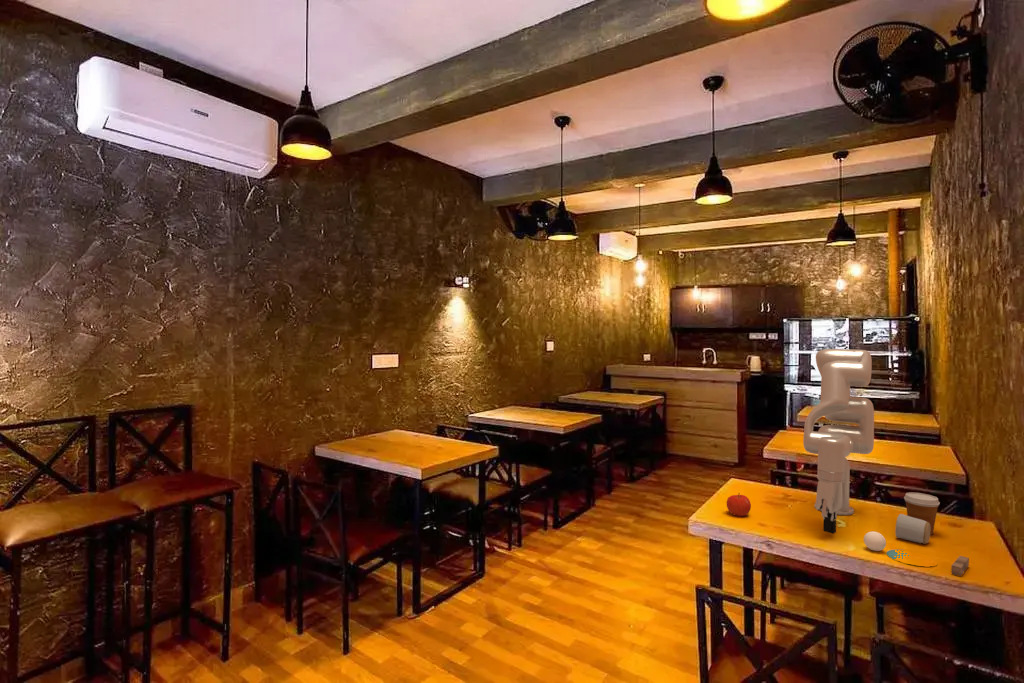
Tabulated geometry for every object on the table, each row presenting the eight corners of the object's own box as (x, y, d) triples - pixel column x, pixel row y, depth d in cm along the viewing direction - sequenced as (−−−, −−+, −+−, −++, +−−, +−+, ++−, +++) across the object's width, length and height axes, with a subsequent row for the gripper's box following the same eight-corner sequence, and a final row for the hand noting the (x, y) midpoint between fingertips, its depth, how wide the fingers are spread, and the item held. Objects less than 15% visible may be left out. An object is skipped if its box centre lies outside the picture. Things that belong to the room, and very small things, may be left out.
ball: (877, 552, 166) (863, 535, 170) (893, 543, 163) (878, 526, 167) (870, 555, 163) (856, 538, 166) (886, 546, 160) (872, 529, 163)
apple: (755, 516, 194) (756, 494, 194) (739, 519, 191) (739, 497, 190) (737, 509, 201) (738, 488, 201) (721, 512, 198) (722, 491, 198)
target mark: (893, 546, 167) (893, 546, 167) (942, 559, 158) (942, 559, 158) (881, 557, 160) (881, 556, 160) (931, 571, 151) (931, 570, 151)
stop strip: (959, 564, 155) (959, 555, 155) (968, 566, 154) (968, 558, 154) (951, 574, 149) (951, 565, 149) (960, 576, 147) (960, 567, 147)
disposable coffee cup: (896, 528, 183) (897, 493, 183) (915, 525, 186) (916, 490, 186) (926, 539, 174) (927, 502, 174) (946, 535, 177) (946, 499, 177)
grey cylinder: (926, 547, 167) (927, 522, 167) (894, 540, 173) (895, 516, 173) (932, 539, 175) (933, 515, 174) (902, 532, 180) (902, 509, 180)
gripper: (827, 469, 183) (825, 523, 183) (809, 477, 173) (807, 534, 174) (852, 474, 177) (850, 529, 178) (834, 482, 168) (833, 541, 168)
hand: (829, 531), depth 176 cm, fingers closed
